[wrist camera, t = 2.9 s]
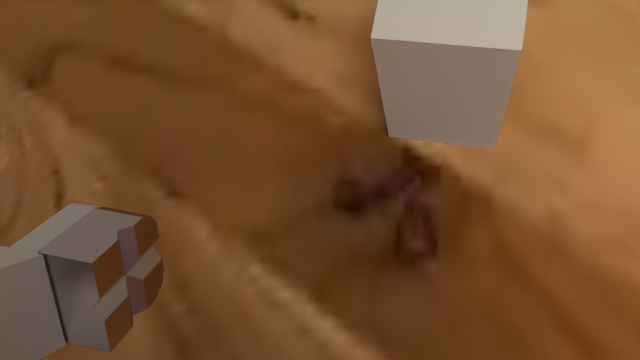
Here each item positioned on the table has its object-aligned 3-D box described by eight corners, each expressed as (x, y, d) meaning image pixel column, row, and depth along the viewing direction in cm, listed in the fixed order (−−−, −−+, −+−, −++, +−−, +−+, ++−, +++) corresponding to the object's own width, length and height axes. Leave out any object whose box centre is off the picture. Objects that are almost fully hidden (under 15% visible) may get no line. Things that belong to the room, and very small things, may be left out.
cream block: (388, 136, 25) (370, 38, 18) (405, 47, 26) (395, -80, 19) (493, 149, 24) (521, 50, 16) (506, 56, 25) (537, -76, 18)
